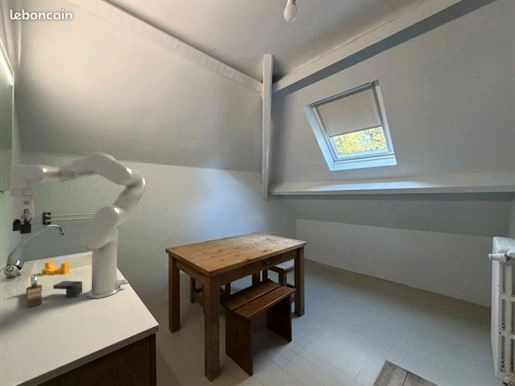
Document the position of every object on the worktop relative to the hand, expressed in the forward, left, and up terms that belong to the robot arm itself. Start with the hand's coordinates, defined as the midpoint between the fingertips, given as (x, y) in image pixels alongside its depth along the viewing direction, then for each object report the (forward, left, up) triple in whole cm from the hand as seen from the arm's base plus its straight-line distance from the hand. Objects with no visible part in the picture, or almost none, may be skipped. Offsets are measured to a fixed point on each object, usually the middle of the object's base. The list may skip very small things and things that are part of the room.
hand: (21, 232), depth 95 cm
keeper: (-16, +8, -29) cm, 34 cm away
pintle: (-3, -3, -26) cm, 26 cm away
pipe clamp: (-8, -28, -29) cm, 41 cm away
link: (-5, +4, -28) cm, 29 cm away
